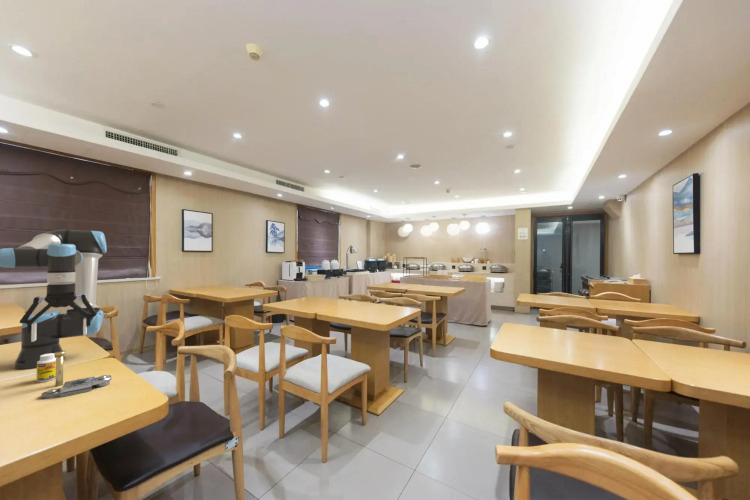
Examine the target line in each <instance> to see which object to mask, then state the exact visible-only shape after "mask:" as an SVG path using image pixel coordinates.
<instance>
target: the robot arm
mask: <svg viewBox="0 0 750 500" xmlns="http://www.w3.org/2000/svg"><path fill="white" fill-rule="evenodd" d="M107 247H108V246H107V240H106V236H105V234H104V232H103V231H98V230H84V229H83V230H82V229H81V230H79V229H55V230H54V229H53V230H51V231H46V232H43V233H39V234H38V235H35V236H34V237H33V238H32V240H31V241H28V242H27V243H25V244H23V245H20V246H18V247H16V248H13V247H8V248H7V247H6V248H5V247H4V248H0V267H1V268H7V269H8V268H10V269H15V268H47V273H46V283H47V285H46V296H45V297H44V296H35V297H33V301H32V304H31V305H30V307H29V308H28V309H27V311H26V312H25V314H24V315H22V317H21V319H20V320H19V323H20V324H21V327H20V329H21V341H20V342H21V343H20V344H21V349H20V351H19V353H18V355H17V357H16V360H15V363H14V369H16V370H28V369H30V370H31V369H35V368H36V369H37V362H38V361H39V360H40V356H41V355H44V354H49V353H55V352H58V351H64V350H63V349H62V347H61V344H60V339H65V338H73V337H75V338H77V337H85V336H90V335H91V336H92V335H96V334H97V333H98V332H99V331H100V329H101V327H102V323H103V319H104V311H103V310H101V308H100V306H99V305H97V304H96V303H97V302H96V301H97V288H98V272H99V270H98V269H99V259H100V258H101V259H102V257H103V254H106V253H107V249H108V248H107ZM43 301H45V302H46V303H47V304H46V305H45V306H44V307H43V308H42V309H41V310H39V311H38V312H37V313H36V314H33V313H34V311H35V310H36V308H37V307H38V306H39V304H42V302H43ZM67 307H68V308H67ZM50 308H54V309H55V308H66V313H61V311H59V310H55V311H54V310H51V311H48V310H49V309H50ZM55 358H56V356H55Z"/></svg>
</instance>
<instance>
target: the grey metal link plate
mask: <svg viewBox="0 0 750 500" xmlns="http://www.w3.org/2000/svg"><path fill="white" fill-rule="evenodd" d="M111 380H112V375H111V374H110V375H109V374H108V375H107V374H104V375H100V376H96V377H95V376H90V377H84V378H83V377H82V378H79V379H78V378H77V379H74V380H69V381H64V382H63V385H62V386H61V387H59V388H52V389H49V390H47V391H46V390H45V391H44V392H42V393H41V394H40V395H41V396H40V398H41V399H42V400H44V399H46V400H47V399H51V398H52V399H53V398H57V397H60V398H64V397H69V396H72V395H77V394H83V393H88V392H92V391H93V387H94V386H95V387H96V388H103V387H107V386H109V385H110V382H111Z"/></svg>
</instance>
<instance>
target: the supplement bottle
mask: <svg viewBox="0 0 750 500" xmlns="http://www.w3.org/2000/svg"><path fill="white" fill-rule="evenodd" d="M53 380H56V358H55V356H54V353H49V354H44V355H41V356H40V360H39V361H38V362H37V368H36V382H37V383H46V382H50V381H53Z"/></svg>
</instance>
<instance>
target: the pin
mask: <svg viewBox="0 0 750 500" xmlns="http://www.w3.org/2000/svg"><path fill="white" fill-rule="evenodd" d="M66 352H67V351H66V350H63V351H58V352H55V353H54V356H56V378H55V383H54V384H55V387H62V386H63V385H64V360H65V355H66Z"/></svg>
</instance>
